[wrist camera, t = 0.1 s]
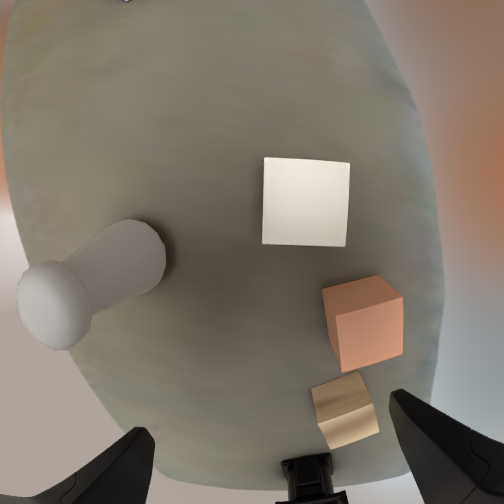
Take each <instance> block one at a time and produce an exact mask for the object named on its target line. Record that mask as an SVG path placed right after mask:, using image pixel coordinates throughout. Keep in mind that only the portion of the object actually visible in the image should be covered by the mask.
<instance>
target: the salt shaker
mask: <svg viewBox="0 0 504 504" xmlns="http://www.w3.org/2000/svg"><path fill="white" fill-rule="evenodd" d="M165 267H166V251H165V244H164V243H163V242H162V241H161V239H160V237H159V235H158V233H157V232H156V231H154V230H153V229H152V228H151V227H150V226H149V225H147V224H146V223H145V222H141V221H137V220H132V219H125V220H122V221H119V222H115V223H113V224H111V225H110V226H108V227H107V228H106V229H104V230H103V231H102V232H100V233H99V234H97V235H96V236H95V237H93V238H92V239H91V240H89V241H88V242H87V243H85V244H84V245H83V246H82V247H80V248H79V249H78V250H76V251H75V252H74V253H73V254H71V255H70V256H69V257H68V258H66V259H65V260H64V261H63V262H61V263H60V262H58V261H54V260H50V261H46V262H43V263H40V264H37V265H34V266H32V267H30V268H29V269H28V270H26V271H25V272H24V273H23V275H22V277H21V278H20V280H19V283H18V287H17V306H18V310H19V313H20V317H21V319H22V321H23V323H24V324H25V326H26V328H27V330H28V331H29V332H30V334H31V335H32V336H34V338H35V339H36V340H37V341H38V342H40V343H41V344H43V345H45V346H47V347H48V348H51V349H53V350H67V349H69V348H71V347H73V346H74V345H75V344H76V343H78V342H79V341H80V340H81V339H82V338H83V337H84V336H85V334H86V333H87V332H88V331H89V328H90V325H91V319H92V315H94V314H96V313H98V312H101V311H103V310H106V309H108V308H110V307H113V306H115V305H118V304H120V303H122V302H125V301H127V300H129V299H132V298H134V297H137V296H139V295H141V294H144V293H146V292H149V291H150V290H151V289H152V288H153V287H155V286H156V285H157V284H158V283H160V281H161V278H162V275H163V273H164V270H165Z"/></svg>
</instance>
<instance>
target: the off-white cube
mask: <svg viewBox="0 0 504 504" xmlns="http://www.w3.org/2000/svg"><path fill="white" fill-rule="evenodd" d="M349 174H350V163H343V162H333V161H321V160H307V159H289V158H264V196H263V233H262V244H281V245H311V246H340V247H345V242H346V230H347V216H348V199H349Z"/></svg>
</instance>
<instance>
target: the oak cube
mask: <svg viewBox="0 0 504 504" xmlns="http://www.w3.org/2000/svg"><path fill="white" fill-rule="evenodd" d="M311 392H312V397H313V402H314V407H315V412H316V417H317V423H318V425H319V427H320V429H321V431H322V433H323V435H324V437H325V439H326V441H327V443H328V445H329V447H330V449H331V450H332V449H335V448H338V447H341V446H344V445H346V444H349V443H352V442H355V441H357V440H360V439H363V438H365V437H368V436H370V435H373V434H375V433H377V432H379V427H378V423H377V418H376V414H375V410H374V406H373V402H372V400H371V397H370V395H369V393H368V391H367V388H366V386H365V384H364V382H363V379H362V377H361V375H360V373H359V370H358V371H355V372H353V373H351V374H348V375H346V376H343V377H341V378H338V379H336V380H333V381H330V382H328V383H325V384H322V385H320V386H317V387H314V388H311Z"/></svg>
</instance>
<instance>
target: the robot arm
mask: <svg viewBox="0 0 504 504" xmlns="http://www.w3.org/2000/svg"><path fill="white" fill-rule="evenodd" d="M389 412H390V415H391V418H392V421H393V424H394V428H395V431H396V434H397V438H398V441H399V444H400V447H401V449H402V452H403V454H404V456H405V458H406V460H407V463H408V465H409V467H410V470H411V472H412V474H413V476H414V479H415V481H416V483H417V486H418V488H419V491H420V493H421V495H422V498H423V500H424V503H425V504H504V444H503V443H501V442H498V441H496V440H493V439H491V438H488V437H487V436H485V435H483V434H481V433H479V432H477V431H475V430H471V428H469V427H468V426H466V425H464V424H462V423H460V422H459V421H457V420H455V419H453V418H451V417H450V416H448V415H446V414H444V413H443V412H441V411H439V410H438V409H436V408H434V407H432V406H431V405H429V404H427V403H425V402H424V401H422V400H420V399H419V398H417V397H415V396H414V395H412V394H410V393H409V392H407V391H405V390H404V389H398V390H395V391H392V392H391V393H390V401H389ZM154 450H155V441H154V439H153V437H152V436H151V435H150V433H149V432H148V430H147V429H146V428H145V427H134V428H133V429H132V430H130V431H129V432H128V433H127V434H125V435H124V436H123V437H122V438H120V439H119V440H118V441H116V442H115V443H114V444H113V445H112V446H110V447H109V448H107V449H106V450H105V451H104V452H102V453H101V454H100V455H98V456H97V457H96V458H94V459H93V460H92V461H90V462H89V463H88V464H86V465H85V466H84V467H82V468H81V469H79V470H78V471H77V472H75V473H74V474H72V475H71V476H69V477H68V478H66V479H65V480H63V481H62V482H60V483H58V484H57V485H55V486H53V487H51V488H49V489H48V490H46V491H44V492H42V493H40V494H38V495H35V496H33V497H17V496H9V495H2V494H0V504H145V503H146V498H147V494H148V489H149V485H150V481H151V476H152V468H153V459H154ZM281 466H282V469H283V472H284V474H285V477H286V479H287V482H288V499H289V501H284V502H275V504H349V503H348V499H347V495H346V491H345V490H344V491H341V492H338V493H334V490H333V484H332V479H331V475H333V469H332V458H331V454H330V453H326V454H322V455H317V456H312V457H306V458H301V459H294V460H288V461H283V462H281Z"/></svg>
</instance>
